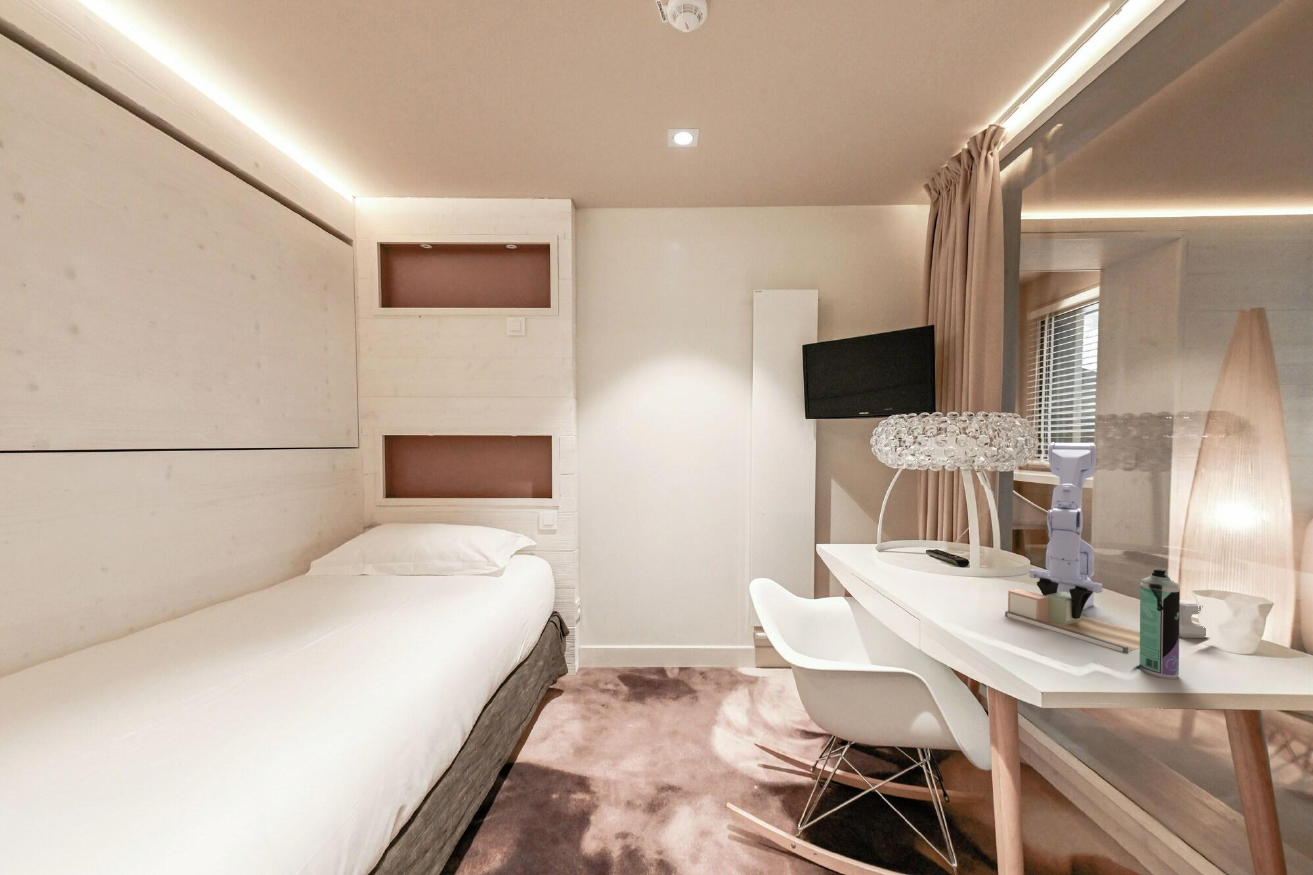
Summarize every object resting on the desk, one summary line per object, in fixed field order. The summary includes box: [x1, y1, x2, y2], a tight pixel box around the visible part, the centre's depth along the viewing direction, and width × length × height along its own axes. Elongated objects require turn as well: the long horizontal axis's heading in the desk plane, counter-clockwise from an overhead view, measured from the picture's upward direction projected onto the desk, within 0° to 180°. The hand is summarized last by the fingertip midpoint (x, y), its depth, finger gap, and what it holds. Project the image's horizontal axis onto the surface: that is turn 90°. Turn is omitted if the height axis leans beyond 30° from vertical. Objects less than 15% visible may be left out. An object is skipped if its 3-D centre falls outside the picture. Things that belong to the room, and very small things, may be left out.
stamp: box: [1179, 599, 1206, 639], centre depth 118 cm, size 9×7×8 cm
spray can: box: [1139, 568, 1181, 680], centre depth 101 cm, size 6×6×20 cm
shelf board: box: [1047, 615, 1140, 654], centre depth 122 cm, size 17×24×1 cm
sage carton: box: [1046, 591, 1083, 625], centre depth 126 cm, size 4×7×6 cm, turn 115°
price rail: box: [1004, 610, 1129, 653], centre depth 118 cm, size 1×24×2 cm, turn 25°
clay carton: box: [1007, 588, 1049, 622], centre depth 127 cm, size 4×7×6 cm, turn 25°
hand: (1063, 614), depth 126 cm, fingers open, 5 cm apart
